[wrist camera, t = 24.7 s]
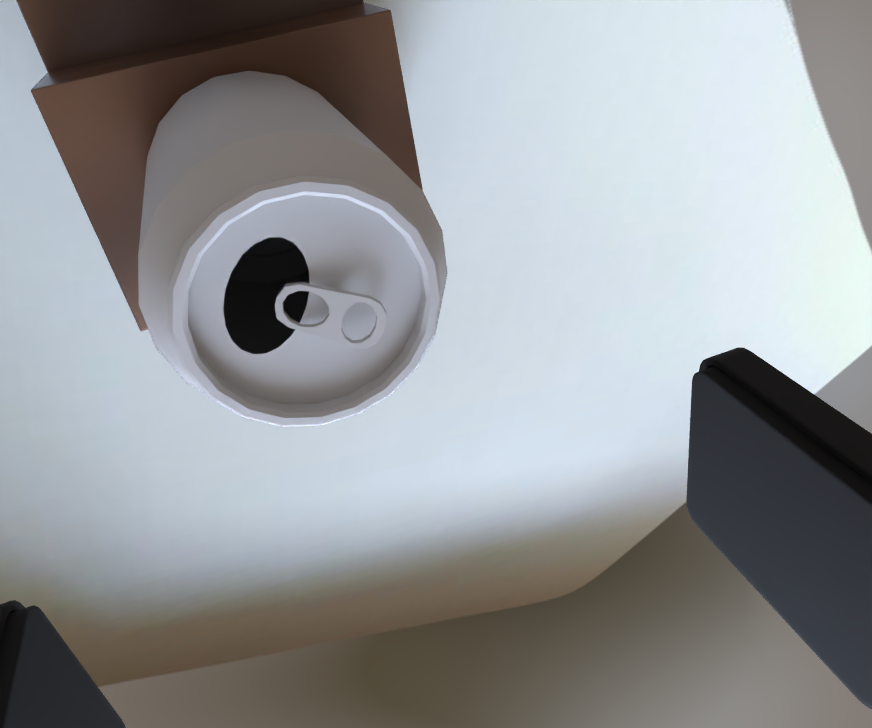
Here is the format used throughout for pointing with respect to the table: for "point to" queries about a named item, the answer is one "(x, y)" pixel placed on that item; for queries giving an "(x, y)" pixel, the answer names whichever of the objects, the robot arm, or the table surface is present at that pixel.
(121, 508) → the table surface
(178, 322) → the can
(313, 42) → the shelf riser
